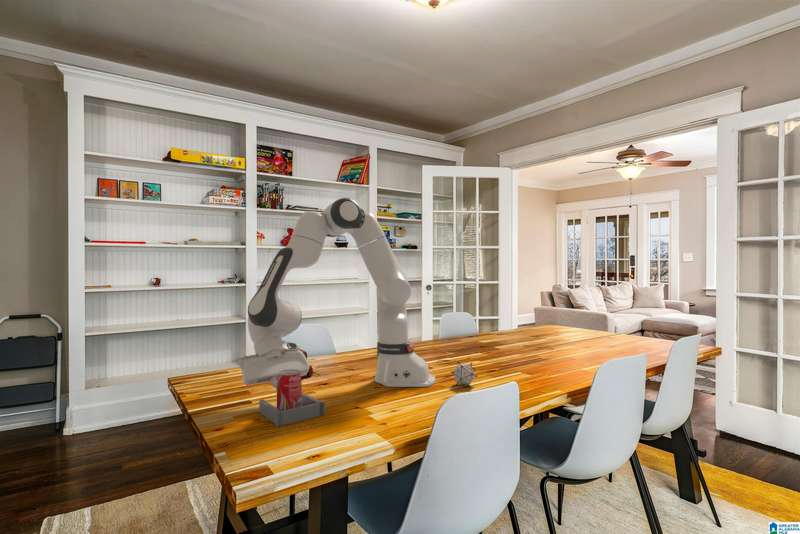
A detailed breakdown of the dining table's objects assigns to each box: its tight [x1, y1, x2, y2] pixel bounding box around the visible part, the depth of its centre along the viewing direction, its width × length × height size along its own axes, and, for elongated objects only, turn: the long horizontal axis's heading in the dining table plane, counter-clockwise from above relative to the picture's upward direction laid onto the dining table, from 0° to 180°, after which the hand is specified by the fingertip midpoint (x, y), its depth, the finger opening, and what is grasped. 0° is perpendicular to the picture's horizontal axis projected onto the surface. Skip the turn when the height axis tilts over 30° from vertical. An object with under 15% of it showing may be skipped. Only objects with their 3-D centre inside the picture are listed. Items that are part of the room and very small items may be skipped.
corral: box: [258, 391, 326, 428], centre depth 126 cm, size 14×15×4 cm
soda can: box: [276, 369, 303, 411], centre depth 126 cm, size 7×7×12 cm
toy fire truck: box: [299, 348, 314, 377], centre depth 168 cm, size 7×12×10 cm, turn 31°
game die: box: [450, 361, 478, 388], centre depth 153 cm, size 9×8×10 cm
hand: (283, 391), depth 129 cm, fingers closed
